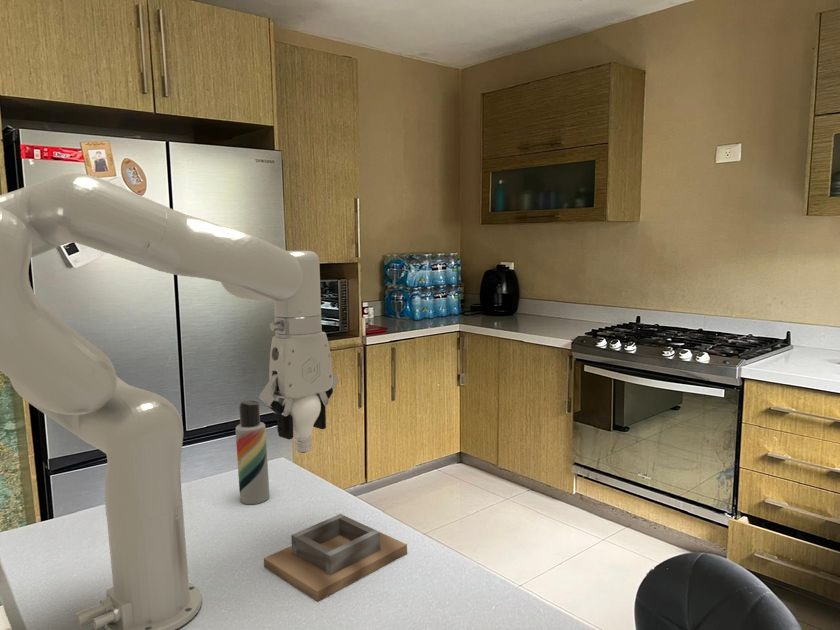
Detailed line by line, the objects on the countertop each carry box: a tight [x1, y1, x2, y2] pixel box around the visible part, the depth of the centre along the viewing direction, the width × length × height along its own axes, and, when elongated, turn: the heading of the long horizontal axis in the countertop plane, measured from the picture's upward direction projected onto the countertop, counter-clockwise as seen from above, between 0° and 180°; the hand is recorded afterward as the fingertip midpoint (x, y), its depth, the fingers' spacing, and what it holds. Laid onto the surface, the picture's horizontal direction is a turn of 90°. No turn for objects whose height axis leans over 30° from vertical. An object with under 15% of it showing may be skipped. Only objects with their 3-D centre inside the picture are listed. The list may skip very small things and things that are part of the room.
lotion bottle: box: [235, 400, 270, 505], centre depth 123 cm, size 6×6×20 cm
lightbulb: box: [282, 394, 321, 454], centre depth 104 cm, size 6×6×11 cm
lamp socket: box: [263, 513, 408, 602], centre depth 100 cm, size 18×14×4 cm
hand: (302, 431), depth 104 cm, fingers closed on lightbulb, 6 cm apart
